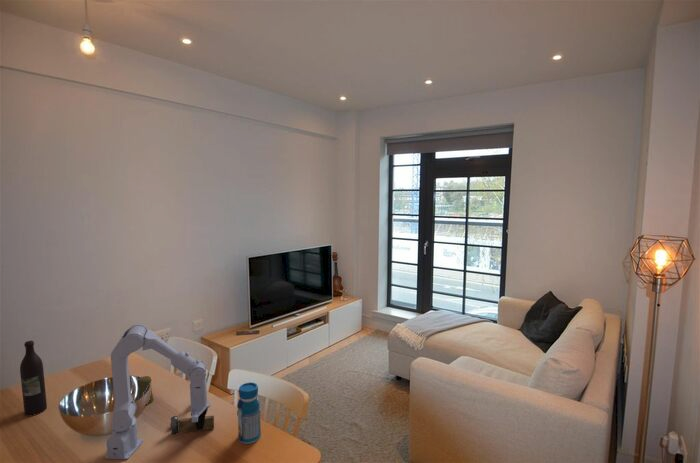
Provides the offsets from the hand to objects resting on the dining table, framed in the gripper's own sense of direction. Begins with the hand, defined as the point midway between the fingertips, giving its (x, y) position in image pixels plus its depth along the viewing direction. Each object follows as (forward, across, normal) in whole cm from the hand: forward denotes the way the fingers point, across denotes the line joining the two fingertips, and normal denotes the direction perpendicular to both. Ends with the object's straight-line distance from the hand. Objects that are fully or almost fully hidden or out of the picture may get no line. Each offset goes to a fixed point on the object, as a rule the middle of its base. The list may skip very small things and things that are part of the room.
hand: (200, 428), depth 139 cm
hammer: (+2, +11, +8) cm, 14 cm away
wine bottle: (+1, +24, +70) cm, 74 cm away
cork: (+2, +24, +28) cm, 37 cm away
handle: (+1, +1, +2) cm, 3 cm away
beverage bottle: (+2, -6, -19) cm, 20 cm away
